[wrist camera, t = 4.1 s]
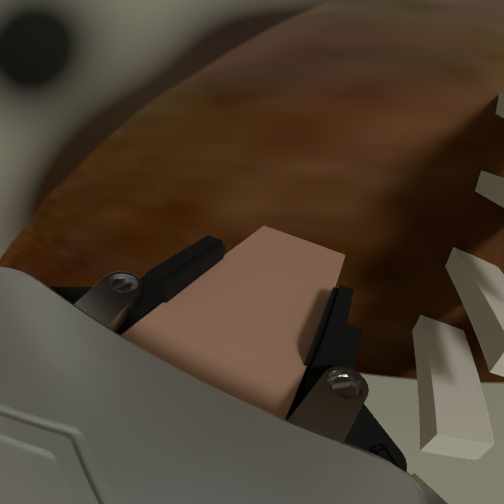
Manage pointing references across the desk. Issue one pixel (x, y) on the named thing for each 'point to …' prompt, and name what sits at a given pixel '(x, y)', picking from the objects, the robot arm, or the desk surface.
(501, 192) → the domino
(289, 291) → the domino
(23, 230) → the desk surface
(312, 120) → the desk surface
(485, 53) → the desk surface
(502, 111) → the domino
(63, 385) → the robot arm
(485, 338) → the domino
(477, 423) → the domino
